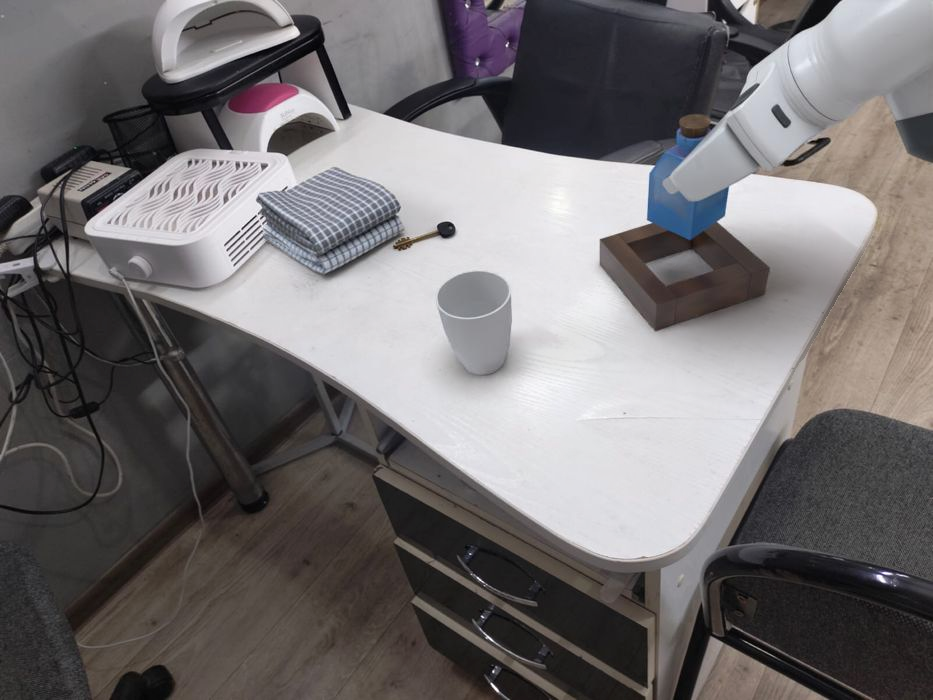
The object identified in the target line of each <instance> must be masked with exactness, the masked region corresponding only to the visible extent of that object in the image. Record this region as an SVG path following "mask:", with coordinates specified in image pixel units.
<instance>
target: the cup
mask: <svg viewBox="0 0 933 700" xmlns="http://www.w3.org/2000/svg"><path fill="white" fill-rule="evenodd" d="M511 289H512V288H511V285H510V283H509V281H508V280H507V279H506V278H505V277H504V276H503V275H501V274H499V273H497V272H494V271H490V270H481V269H475V270H467V271H463V272H459V273H457V274H455V275H452V276H451V277H449V278H448V279H446V280H445V281H444V282H443V283H442V284H440V285H439V287H438V289H437V290H436V294H435V304H436V307H437V310H438V314H439V317H440V320H441V324H442V328H443V330H444V333H445V335H446V337H447V340H448V343H449V344H450V347H451V349H452V351H453V353H454V355H455V357H456V359H458V361H459V362H460V364H461V365H462V366H463V368H464V369H465V370H466V371H467V372H469V373H470V374H472V375H476V376H477V375H478V376H485V375H490V374H493V373H495V372H497V371H499V370H500V369H501V368H502V367H503V365H504V364H505V361H506V358H507V355H508V352H509V348H510V345H511V344H510V343H511V335H512V323H513V312H512V311H513V310H512V309H513V308H512V290H511Z"/></svg>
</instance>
